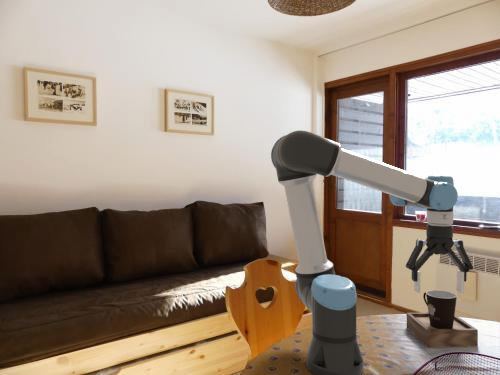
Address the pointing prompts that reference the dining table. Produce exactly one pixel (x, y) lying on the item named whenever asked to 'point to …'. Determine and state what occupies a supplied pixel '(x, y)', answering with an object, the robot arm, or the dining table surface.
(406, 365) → the dining table surface
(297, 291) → the robot arm
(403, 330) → the dining table surface
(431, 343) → the wooden tray
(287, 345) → the dining table surface
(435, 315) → the coffee mug
